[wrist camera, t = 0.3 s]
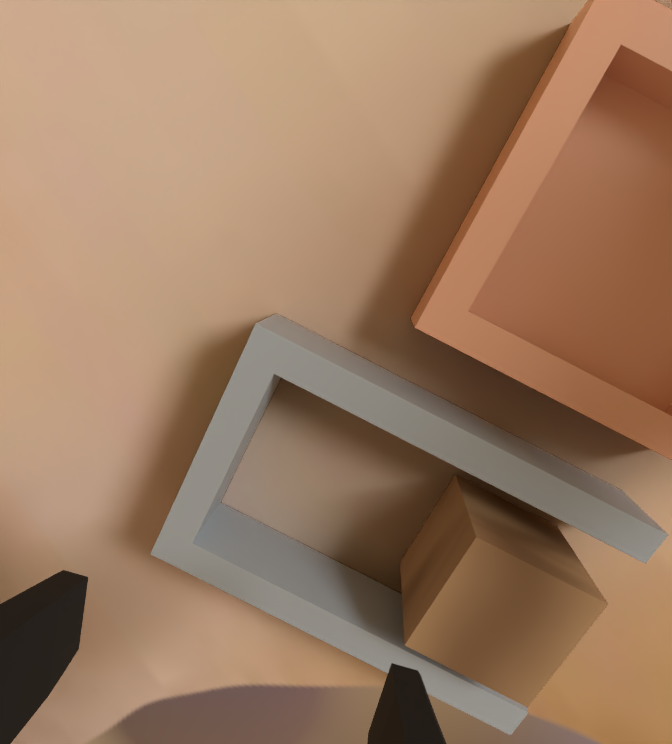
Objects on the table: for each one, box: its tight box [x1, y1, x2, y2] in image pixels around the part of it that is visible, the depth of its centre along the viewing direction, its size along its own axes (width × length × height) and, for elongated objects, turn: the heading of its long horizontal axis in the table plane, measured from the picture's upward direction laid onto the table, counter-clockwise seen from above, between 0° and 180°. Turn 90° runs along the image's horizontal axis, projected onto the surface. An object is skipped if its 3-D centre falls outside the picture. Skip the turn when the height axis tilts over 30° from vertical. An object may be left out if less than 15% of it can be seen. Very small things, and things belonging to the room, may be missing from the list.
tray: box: [410, 0, 672, 460], centre depth 15 cm, size 10×10×2 cm
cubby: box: [151, 313, 668, 735], centre depth 18 cm, size 15×9×3 cm, turn 64°
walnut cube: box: [400, 474, 608, 707], centre depth 17 cm, size 4×4×4 cm
